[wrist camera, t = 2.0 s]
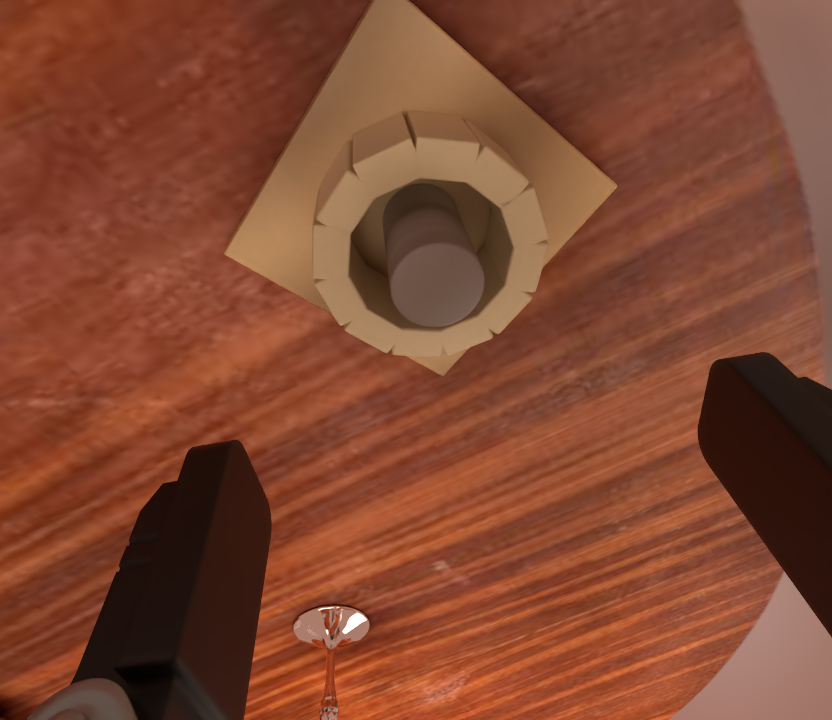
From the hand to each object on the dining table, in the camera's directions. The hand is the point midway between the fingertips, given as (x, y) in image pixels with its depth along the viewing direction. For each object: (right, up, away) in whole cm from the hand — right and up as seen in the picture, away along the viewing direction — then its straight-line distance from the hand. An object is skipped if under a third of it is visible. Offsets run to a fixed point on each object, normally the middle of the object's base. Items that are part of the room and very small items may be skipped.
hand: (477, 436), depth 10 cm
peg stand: (-1, +6, +9) cm, 11 cm away
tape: (-1, +6, +8) cm, 10 cm away
